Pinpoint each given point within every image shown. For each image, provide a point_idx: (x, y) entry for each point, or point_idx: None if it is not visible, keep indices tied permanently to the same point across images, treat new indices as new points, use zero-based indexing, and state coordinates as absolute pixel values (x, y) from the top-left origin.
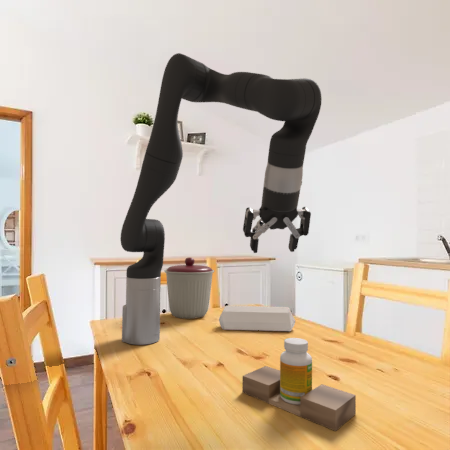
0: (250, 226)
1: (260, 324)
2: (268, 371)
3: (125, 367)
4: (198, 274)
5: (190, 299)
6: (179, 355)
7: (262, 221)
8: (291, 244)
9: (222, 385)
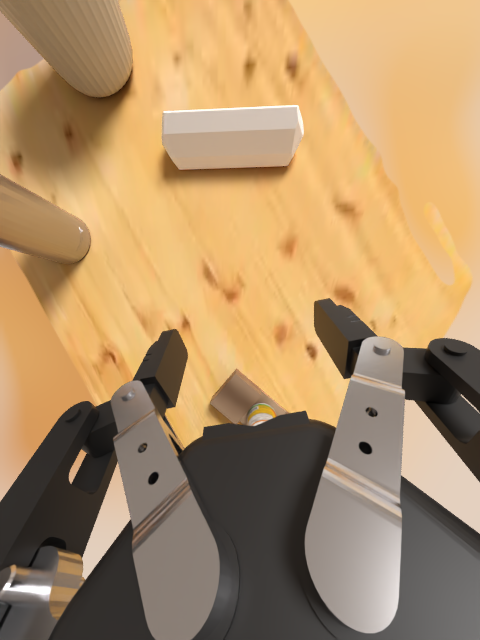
0: (93, 509)
1: (237, 158)
2: (237, 390)
3: (82, 342)
4: None
5: (79, 58)
6: (132, 297)
7: (151, 449)
8: (327, 341)
9: (192, 381)
